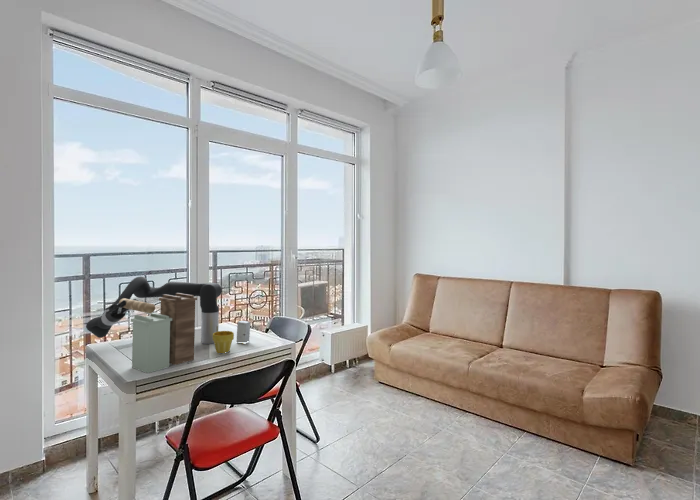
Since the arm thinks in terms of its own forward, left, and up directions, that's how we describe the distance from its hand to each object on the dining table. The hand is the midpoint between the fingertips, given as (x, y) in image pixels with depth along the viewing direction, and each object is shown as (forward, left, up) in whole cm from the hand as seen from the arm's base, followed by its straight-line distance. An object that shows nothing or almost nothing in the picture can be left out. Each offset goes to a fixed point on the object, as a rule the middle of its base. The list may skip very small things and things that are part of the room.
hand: (130, 301), depth 179 cm
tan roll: (-3, +4, -4) cm, 6 cm away
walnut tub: (-21, +5, -28) cm, 35 cm away
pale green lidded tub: (-11, +13, -28) cm, 33 cm away
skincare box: (-53, -19, -28) cm, 63 cm away
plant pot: (-42, -4, -28) cm, 51 cm away
